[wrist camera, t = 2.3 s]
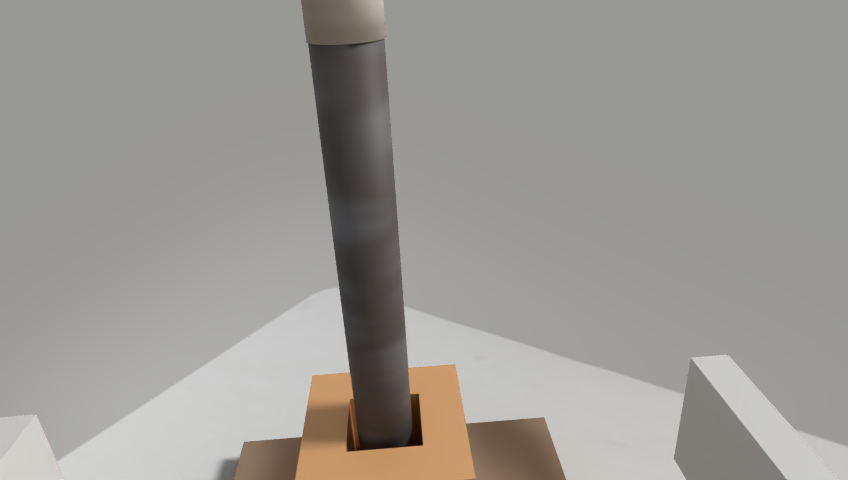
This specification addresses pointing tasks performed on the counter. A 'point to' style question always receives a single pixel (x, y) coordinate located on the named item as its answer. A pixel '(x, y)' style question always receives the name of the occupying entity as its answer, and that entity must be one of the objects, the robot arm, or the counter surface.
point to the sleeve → (393, 467)
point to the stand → (377, 258)
